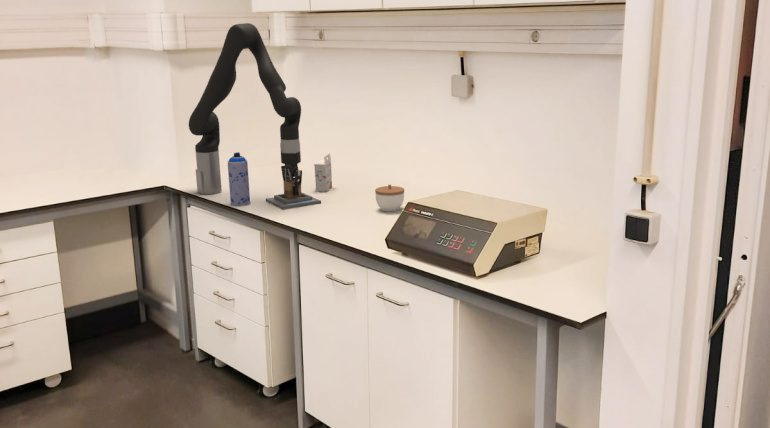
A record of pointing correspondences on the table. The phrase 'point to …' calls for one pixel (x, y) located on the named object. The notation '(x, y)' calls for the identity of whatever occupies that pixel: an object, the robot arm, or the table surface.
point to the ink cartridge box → (323, 174)
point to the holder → (292, 201)
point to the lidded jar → (389, 197)
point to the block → (290, 190)
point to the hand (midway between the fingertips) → (292, 193)
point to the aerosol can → (238, 180)
